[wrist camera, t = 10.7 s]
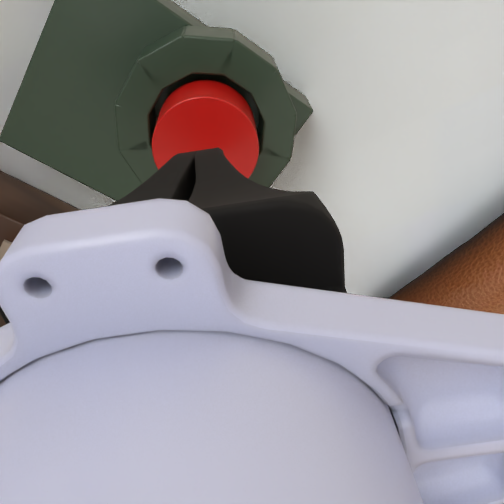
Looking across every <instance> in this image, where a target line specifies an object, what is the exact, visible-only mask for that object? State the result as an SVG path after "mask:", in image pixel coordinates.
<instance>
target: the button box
mask: <svg viewBox="0 0 504 504" xmlns="http://www.w3.org/2000/svg"><path fill="white" fill-rule="evenodd" d="M198 80H212V81H217V82H221V83H224V84H226V85H228V86H230V87H232V88H233V89H235V90H236V91H237V92H239V93H240V94H241V95H242V96H243V98H244V99H245V100H246V101H247V103H248V105H249V106H250V108H251V111H252V113H253V116H254V120H255V125H256V130H257V136H258V142H259V155H258V160H257V164H256V166H255V169H254V171H253V172H252V174H251V176H250V177H249V178H248V179H250V180H252V181H253V182H255V183H258V184H260V185H263V186H266V187H270V186H271V185H272V183H273V182H274V181H275V179H276V178H277V177H278V175H279V174H280V173H281V171H282V170H283V169H284V167H285V166H286V165H287V164H288V162H289V161H290V158H291V156H292V149H293V142H294V136H295V135H296V134H297V132H298V131H299V130H300V128H301V127H302V126H303V124H304V123H305V122H306V120H307V119H308V118H309V116H310V115H311V114H312V112H313V109H312V108H311V106H310V104H309V102H308V100H307V98H306V96H305V95H303V94H302V93H301V92H299V91H298V90H296V89H295V88H293V87H292V86H291V85H289V84H288V83H286V82H285V81H284V80H283V79H282V77H281V75H280V72H279V70H278V68H277V66H276V63H275V61H274V59H273V58H272V56H271V55H270V54H268V53H267V52H265V51H264V50H263V49H261V48H260V47H259V46H257V45H256V44H254V43H253V42H252V41H250V40H249V39H248V38H246V37H245V36H243V35H242V34H241V33H239V32H238V31H237V30H233V29H231V28H218V27H208V26H206V25H205V24H204V23H202V22H201V21H199V20H198V19H197V18H195V17H194V16H192V15H191V14H189V13H188V12H187V11H185V10H184V9H182V8H181V7H180V6H178V5H177V4H175V3H174V2H173V1H171V0H55V1H54V3H53V6H52V8H51V11H50V13H49V16H48V18H47V21H46V23H45V26H44V28H43V31H42V33H41V36H40V38H39V41H38V43H37V46H36V48H35V50H34V53H33V55H32V58H31V60H30V63H29V65H28V68H27V70H26V73H25V75H24V78H23V80H22V83H21V85H20V88H19V90H18V93H17V95H16V98H15V100H14V103H13V105H12V108H11V110H10V113H9V115H8V118H7V120H6V123H5V125H4V128H3V130H2V133H1V135H0V141H1V142H3V143H5V144H7V145H8V146H10V147H12V148H14V149H16V150H18V151H20V152H22V153H24V154H26V155H28V156H30V157H32V158H34V159H36V160H38V161H40V162H42V163H44V164H46V165H48V166H50V167H52V168H53V169H55V170H57V171H59V172H61V173H63V174H65V175H67V176H69V177H71V178H73V179H75V180H77V181H79V182H81V183H83V184H85V185H87V186H89V187H91V188H93V189H95V190H96V191H98V192H100V193H102V194H104V195H106V196H108V197H110V198H112V199H114V200H116V201H118V200H120V199H121V198H123V197H125V196H126V195H128V194H129V193H131V192H132V191H133V190H135V189H136V188H137V187H139V186H140V185H141V184H142V183H144V182H145V181H146V180H147V179H149V178H150V177H151V176H152V175H153V174H154V173H156V172H157V171H158V168H157V166H156V164H155V161H154V158H153V154H152V137H153V133H154V129H155V126H156V123H157V120H158V117H159V113H160V110H161V108H162V106H163V104H164V102H165V100H166V99H167V98H168V96H169V95H170V94H171V93H172V92H173V91H175V90H176V89H177V88H179V87H180V86H182V85H184V84H186V83H189V82H193V81H198Z"/></svg>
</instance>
